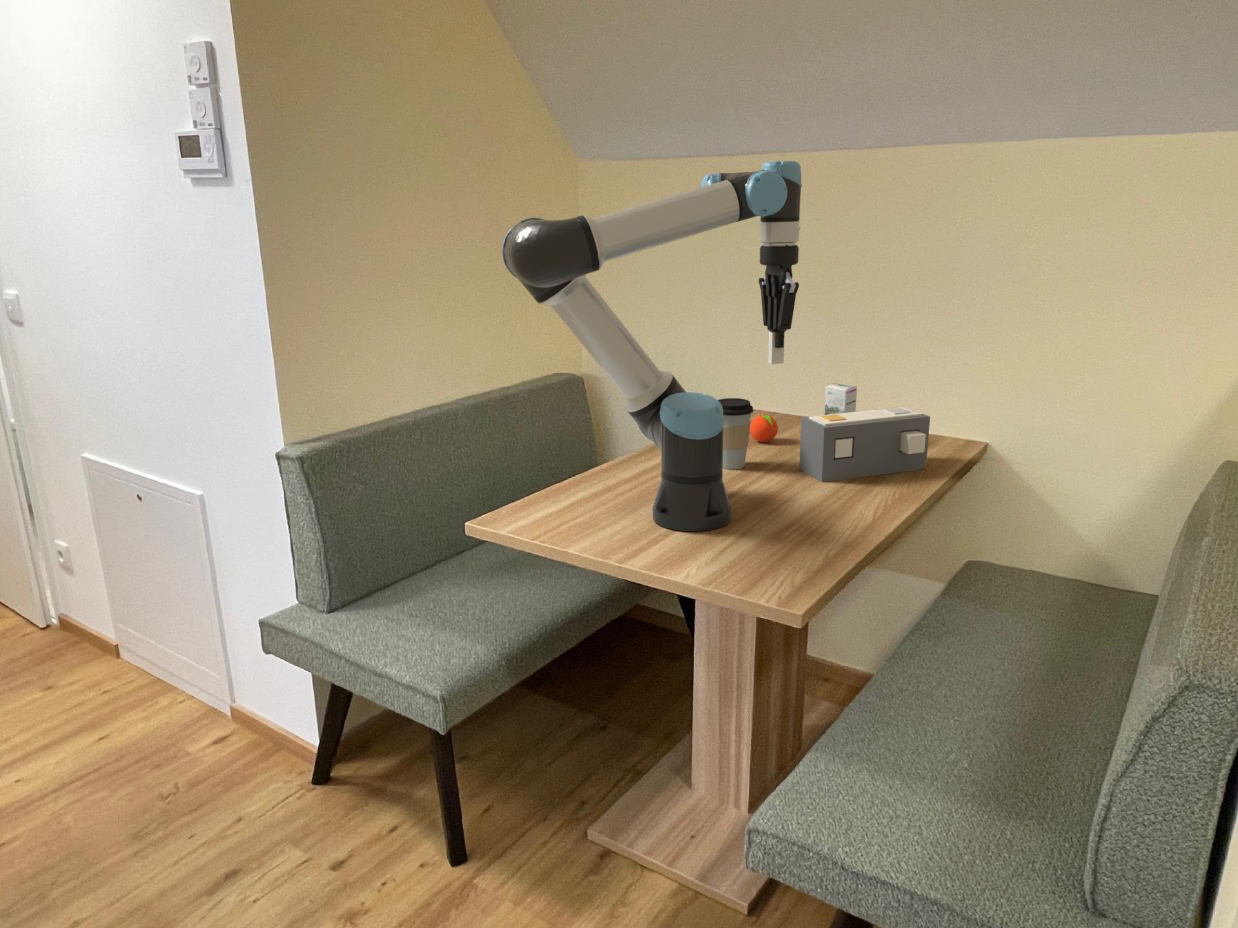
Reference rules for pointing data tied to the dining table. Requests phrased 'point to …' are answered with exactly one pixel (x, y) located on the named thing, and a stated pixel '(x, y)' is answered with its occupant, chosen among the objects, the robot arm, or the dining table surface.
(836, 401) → the syrup box
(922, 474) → the dining table surface
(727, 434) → the coffee cup
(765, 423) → the clementine
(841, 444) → the left button
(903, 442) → the right button
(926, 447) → the console
